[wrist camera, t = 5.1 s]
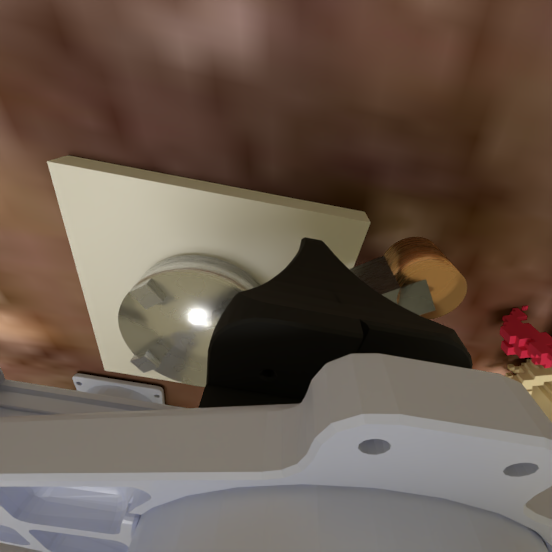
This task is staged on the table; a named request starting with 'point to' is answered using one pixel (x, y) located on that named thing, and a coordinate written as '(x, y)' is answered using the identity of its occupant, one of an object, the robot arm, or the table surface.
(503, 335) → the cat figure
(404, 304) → the grey metal handled bowl
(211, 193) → the cap plate
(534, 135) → the table surface
